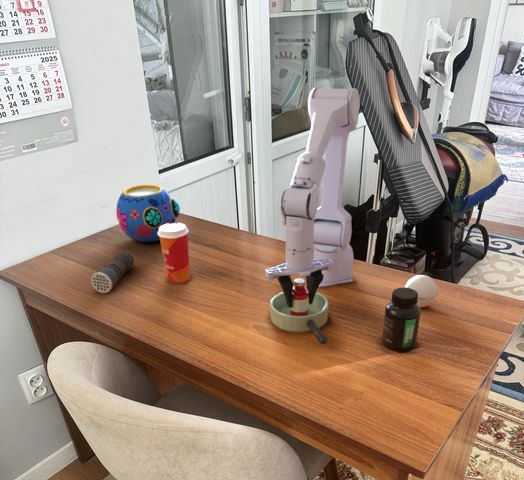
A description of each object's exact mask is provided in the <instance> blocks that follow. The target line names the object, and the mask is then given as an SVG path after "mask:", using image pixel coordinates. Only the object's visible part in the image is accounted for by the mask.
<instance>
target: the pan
mask: <svg viewBox="0 0 524 480" xmlns="http://www.w3.org/2000/svg"><path fill="white" fill-rule="evenodd" d="M329 305H330V304H329V300H328V298H326V296H325V295H323V294H322V293H319V292H317V291H316V294H315V296H314V300H313V303H312V304H309V314H308V316H291V314H290V308H289V307H288V306H287V304H286V299H285V295H284V292H283V291H282V292H279V293H278V294H275V295H274V296H272V298H271V300H270V302H269V306H270V307H269V308H270V309H269V311H270V321H271V322H272V324H274V326H276V327H277V328H279V329H281V330H284V331H288V332H295V333H296V332H297V333H301V332H311V330H310V329H309V327H308V326H307V321H308V320H313V321H314V323H315V324H316V325H317V327H318V328H319V329H320V328H321V327H323V326H324V325H325V324H326V323H327V321H328V318H329Z"/></svg>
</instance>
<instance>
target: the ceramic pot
mask: <svg viewBox="0 0 524 480" xmlns="http://www.w3.org/2000/svg"><path fill="white" fill-rule="evenodd" d="M115 209H116V219H117V222H118V224H119V226H120V228H121V230H122V231H123V233H124V234H125V235H126V236H127V237H128V238H129V239H132V240H135V241H138V242H144V243H151V242H158V241H160V237H159V236H158V231H159V227H160V226H162V225H164V224H167V223H169V224H171V223H175V224H176V220H177V219H178V217H179V215H180V212H181V206H180V204H179V202H178V201H177V200H175V199H174V198H173V197H172V196H171V195H170V194H169V193H168V192H167V190H166V189H164V188H163V187H161V186H159V185H157V184H141V185H135V186H131V187H128V188H126V189H125V190H123V191H122V193H121V194H120V196H119V198H118V199H117V203H116V208H115Z"/></svg>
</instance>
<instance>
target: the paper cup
mask: <svg viewBox="0 0 524 480" xmlns="http://www.w3.org/2000/svg"><path fill="white" fill-rule="evenodd" d="M189 232H190V231H189V229H188V227H187V225H186V224H185V223H183V222H177V223H176V222H175V223H171V224H169V223H167V224H164V225H162V226H160V227H159V231H158V236H159V237H160V240H159V241H160V246H161V251H162V256H163V260H164V264H165V271H166V275H167V277H168V281H169V282H170V283H173V284H183V283H186V282H188V281H189V280H190V279H191V270H190V253H189V252H190V251H189V237H188V233H189Z"/></svg>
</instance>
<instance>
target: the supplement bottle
mask: <svg viewBox="0 0 524 480" xmlns="http://www.w3.org/2000/svg"><path fill="white" fill-rule="evenodd" d="M390 297H391V298H390V301H389V302H388V303H387V304H386V305H385V308H384V315H383V325H382V333H381V334H382V335H381V344H382V346H383V347H384V348H385V349H387V350H389V351H392V352H396V354H407V353H410V352H412V351H413V350H414V349H415V348H416V345H417V341H418V333H419V328H420V321H421V314H422V309H421V307H419V305H418V304H417V302H418V293H417V291H415V290H414V289H410V288H405V286H404V287H397V288H395V289H393V290H392V293H391V296H390Z"/></svg>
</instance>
